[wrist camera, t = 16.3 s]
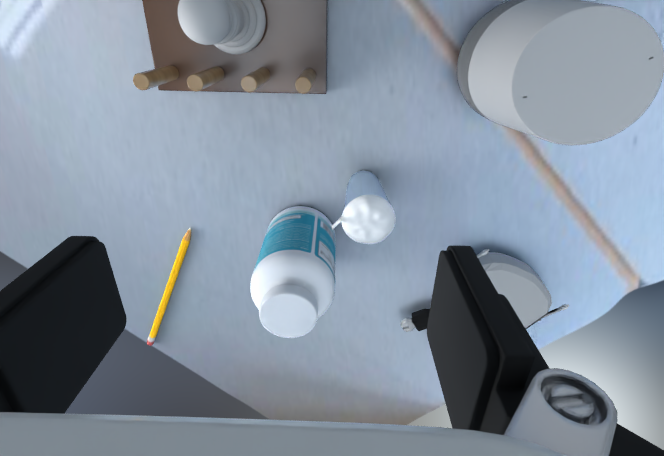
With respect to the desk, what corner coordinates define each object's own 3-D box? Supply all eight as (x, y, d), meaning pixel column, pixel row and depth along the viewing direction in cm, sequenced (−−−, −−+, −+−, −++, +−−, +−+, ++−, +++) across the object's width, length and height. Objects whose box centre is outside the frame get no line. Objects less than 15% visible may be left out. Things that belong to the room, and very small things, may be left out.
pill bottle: (258, 246, 43) (227, 331, 31) (284, 192, 40) (260, 263, 28) (318, 271, 45) (310, 362, 33) (348, 221, 42) (350, 300, 30)
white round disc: (463, 350, 51) (558, 280, 44) (471, 379, 47) (577, 308, 40) (391, 308, 48) (481, 225, 41) (394, 335, 44) (493, 249, 37)
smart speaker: (557, -20, 31) (700, -48, 19) (562, 94, 35) (683, 133, 23) (439, 22, 33) (500, 21, 20) (458, 126, 37) (517, 179, 24)
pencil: (148, 340, 51) (145, 344, 50) (188, 223, 42) (186, 226, 42) (154, 342, 51) (152, 346, 50) (195, 226, 42) (193, 229, 42)
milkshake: (335, 160, 38) (334, 201, 30) (389, 165, 39) (403, 208, 30) (331, 202, 41) (328, 252, 32) (382, 207, 41) (393, 257, 32)
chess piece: (207, 54, 33) (165, 63, 25) (196, -20, 31) (145, -35, 23) (269, 53, 33) (246, 63, 25) (263, -21, 30) (236, -37, 22)
